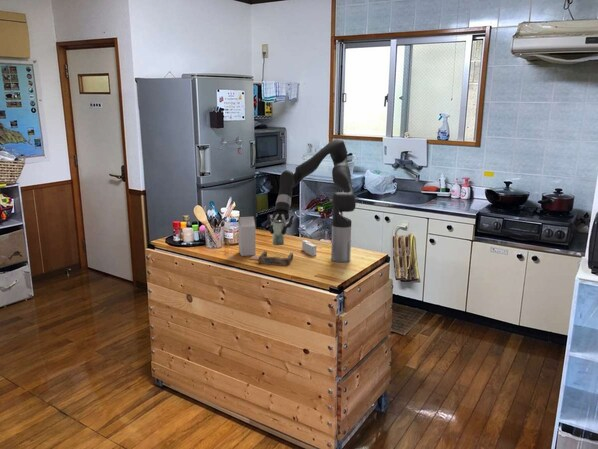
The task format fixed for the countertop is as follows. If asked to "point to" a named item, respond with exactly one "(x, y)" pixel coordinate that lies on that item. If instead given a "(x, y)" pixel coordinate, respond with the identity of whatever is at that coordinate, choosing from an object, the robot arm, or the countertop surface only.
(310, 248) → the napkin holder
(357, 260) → the countertop surface
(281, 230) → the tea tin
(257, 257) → the terracotta tag
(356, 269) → the countertop surface
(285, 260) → the dock
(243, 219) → the milk carton
